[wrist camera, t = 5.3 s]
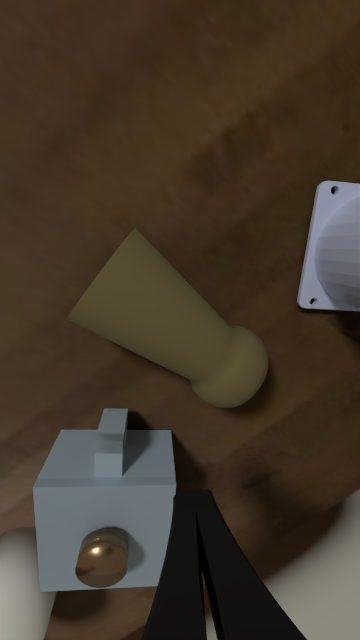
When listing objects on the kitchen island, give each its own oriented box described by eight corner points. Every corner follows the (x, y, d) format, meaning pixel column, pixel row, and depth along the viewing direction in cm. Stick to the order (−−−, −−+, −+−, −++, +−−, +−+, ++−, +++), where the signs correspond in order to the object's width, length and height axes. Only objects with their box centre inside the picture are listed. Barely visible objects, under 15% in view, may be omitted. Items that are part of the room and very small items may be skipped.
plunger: (134, 468, 21) (127, 549, 16) (133, 498, 22) (126, 586, 16) (95, 468, 21) (74, 551, 15) (95, 499, 21) (75, 589, 16)
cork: (147, 213, 16) (280, 325, 19) (98, 281, 19) (217, 367, 22) (107, 259, 11) (293, 399, 14) (51, 339, 15) (211, 439, 18)
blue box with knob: (173, 401, 21) (178, 450, 16) (165, 514, 24) (168, 585, 19) (60, 400, 20) (30, 450, 15) (64, 516, 23) (40, 592, 18)
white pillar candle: (65, 525, 23) (35, 620, 17) (67, 580, 25) (41, 684, 19) (-14, 528, 22) (-72, 626, 17) (-7, 584, 24) (-58, 692, 18)
